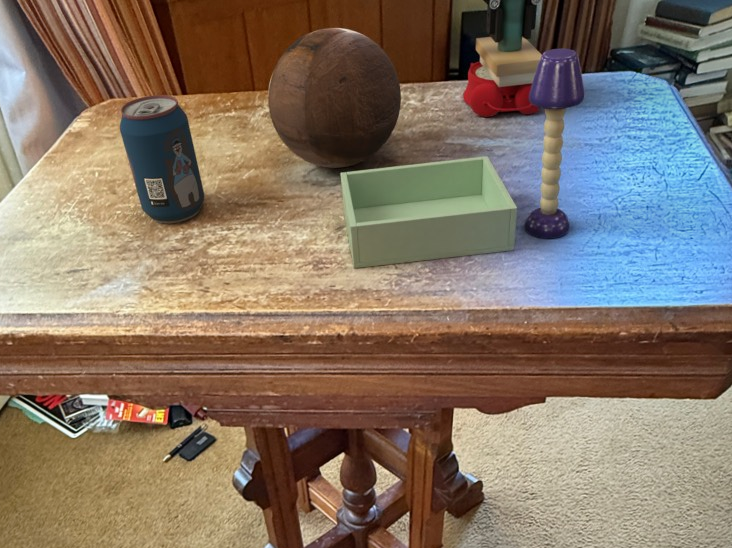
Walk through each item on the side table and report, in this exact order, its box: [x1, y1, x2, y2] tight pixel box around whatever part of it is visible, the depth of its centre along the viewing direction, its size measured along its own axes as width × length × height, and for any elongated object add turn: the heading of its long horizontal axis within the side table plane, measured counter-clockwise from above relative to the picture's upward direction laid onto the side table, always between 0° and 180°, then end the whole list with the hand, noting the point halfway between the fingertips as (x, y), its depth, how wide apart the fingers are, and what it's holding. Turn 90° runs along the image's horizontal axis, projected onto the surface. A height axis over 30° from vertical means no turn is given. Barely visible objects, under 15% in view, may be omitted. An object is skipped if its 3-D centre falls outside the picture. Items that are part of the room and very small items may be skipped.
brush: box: [475, 0, 542, 87], centre depth 90 cm, size 11×6×10 cm, turn 4°
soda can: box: [119, 94, 205, 225], centre depth 76 cm, size 7×7×12 cm
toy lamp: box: [524, 48, 585, 239], centre depth 65 cm, size 5×5×17 cm
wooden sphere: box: [267, 27, 402, 169], centre depth 81 cm, size 15×15×15 cm
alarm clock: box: [462, 60, 542, 118], centre depth 94 cm, size 10×6×15 cm
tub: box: [340, 155, 518, 269], centre depth 71 cm, size 15×11×4 cm
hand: (510, 36), depth 90 cm, fingers closed on brush, 3 cm apart
